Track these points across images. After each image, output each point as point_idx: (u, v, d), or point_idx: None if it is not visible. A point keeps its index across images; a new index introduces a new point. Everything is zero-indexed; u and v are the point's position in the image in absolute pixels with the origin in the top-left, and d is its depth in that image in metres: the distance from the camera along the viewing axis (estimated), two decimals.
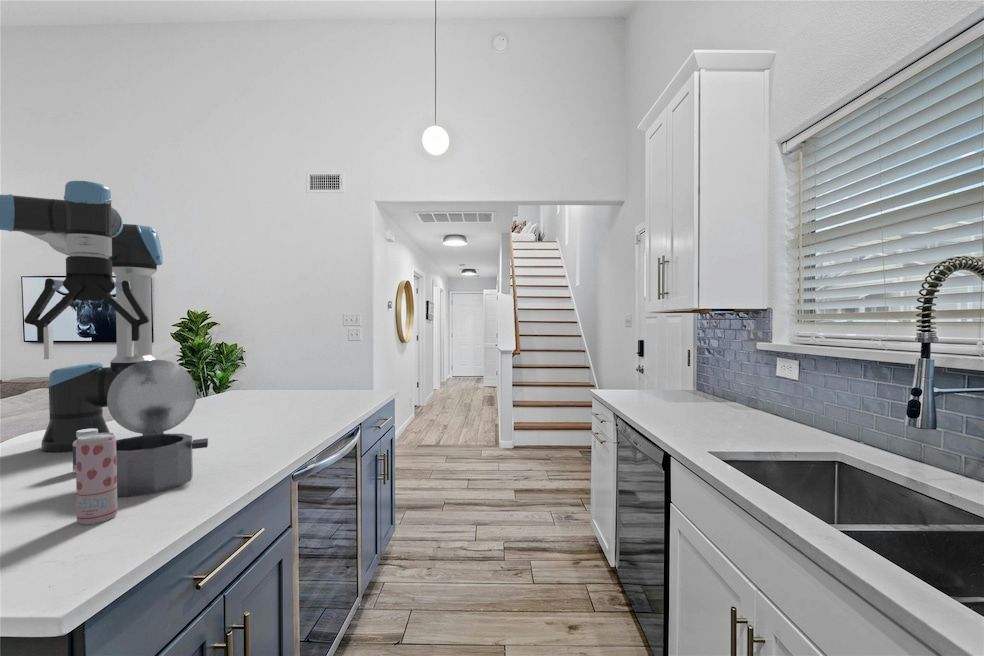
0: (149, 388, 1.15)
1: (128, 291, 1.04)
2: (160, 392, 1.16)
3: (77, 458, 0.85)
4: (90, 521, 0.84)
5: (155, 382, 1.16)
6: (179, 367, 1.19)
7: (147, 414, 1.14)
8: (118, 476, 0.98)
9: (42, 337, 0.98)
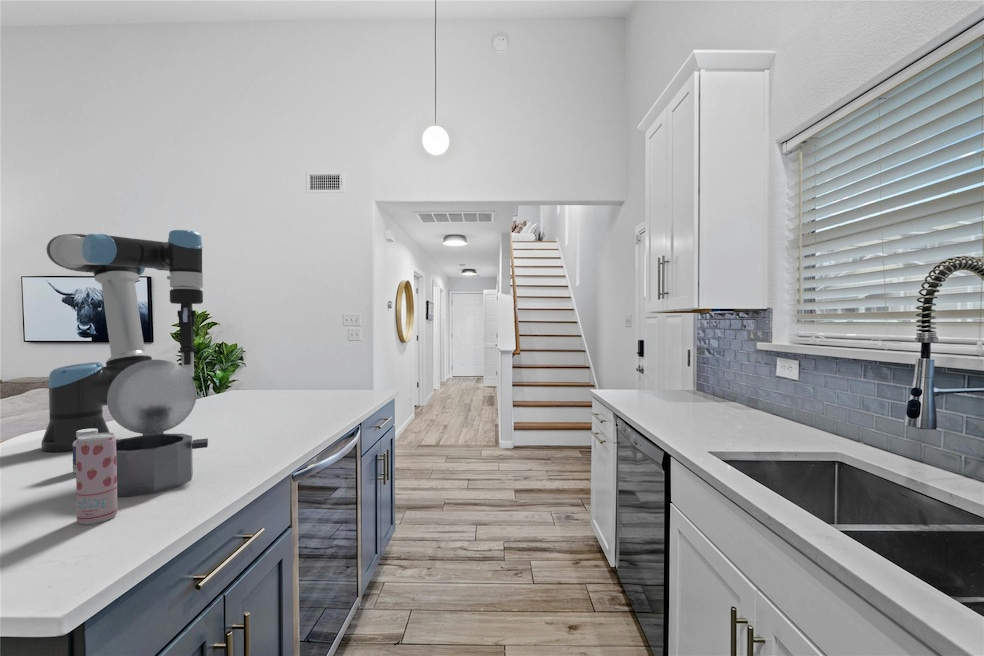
0: (149, 388, 1.15)
1: (180, 323, 1.25)
2: (160, 392, 1.16)
3: (77, 458, 0.85)
4: (90, 521, 0.84)
5: (155, 382, 1.16)
6: (179, 367, 1.19)
7: (147, 414, 1.14)
8: (118, 476, 0.98)
9: None
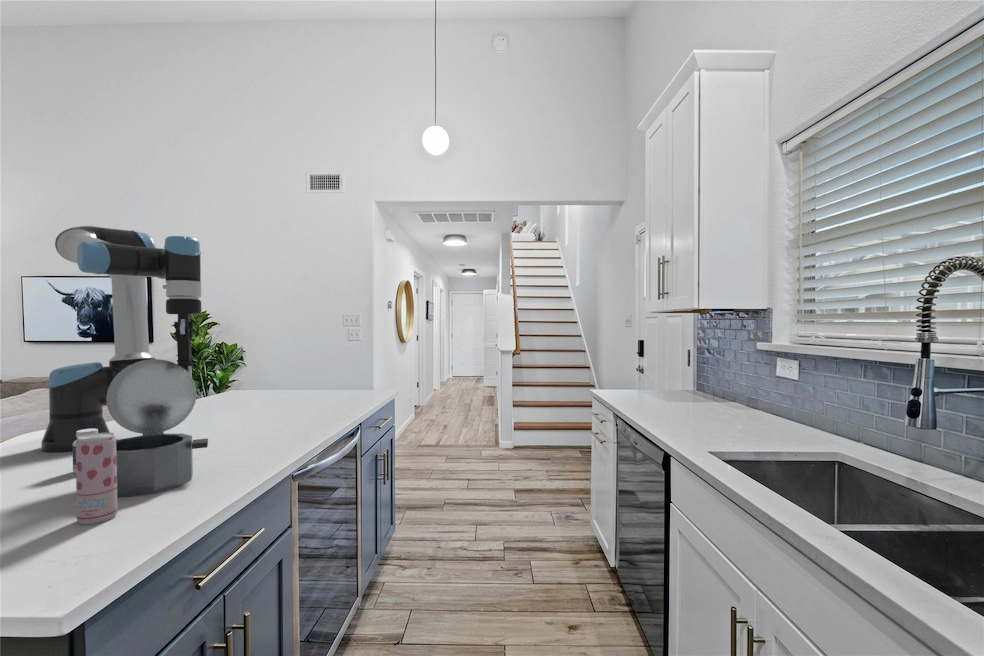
0: (149, 388, 1.15)
1: (176, 335, 1.17)
2: (160, 392, 1.15)
3: (77, 458, 0.85)
4: (90, 521, 0.84)
5: (154, 382, 1.15)
6: (179, 367, 1.18)
7: (147, 414, 1.14)
8: (118, 476, 0.98)
9: None
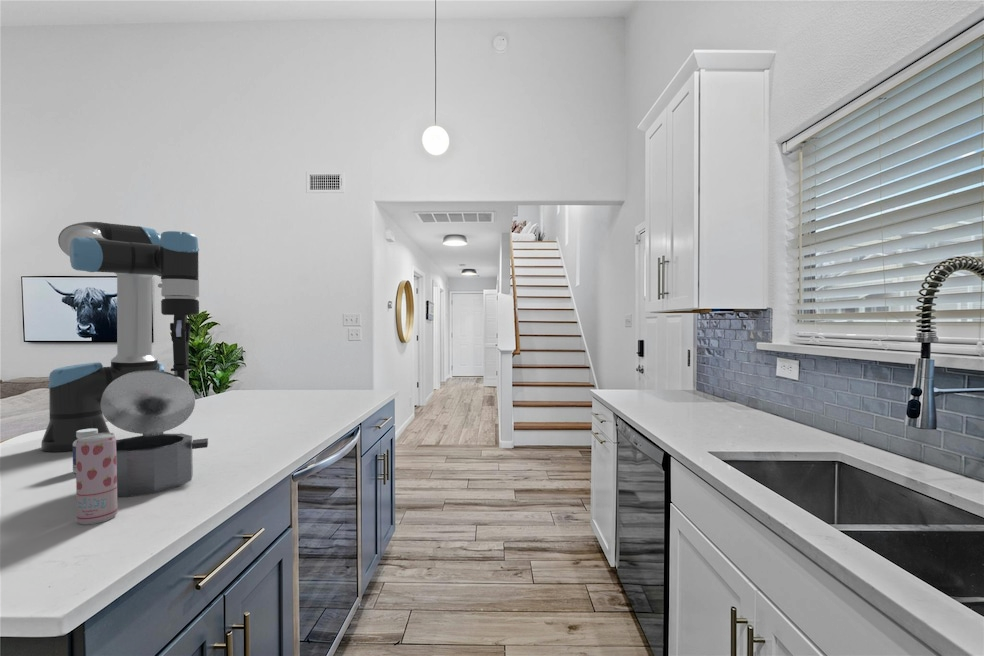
0: (144, 398, 1.09)
1: (172, 338, 1.09)
2: (156, 400, 1.10)
3: (77, 458, 0.85)
4: (90, 521, 0.84)
5: (150, 392, 1.09)
6: (175, 379, 1.09)
7: (145, 418, 1.11)
8: (118, 476, 0.98)
9: None
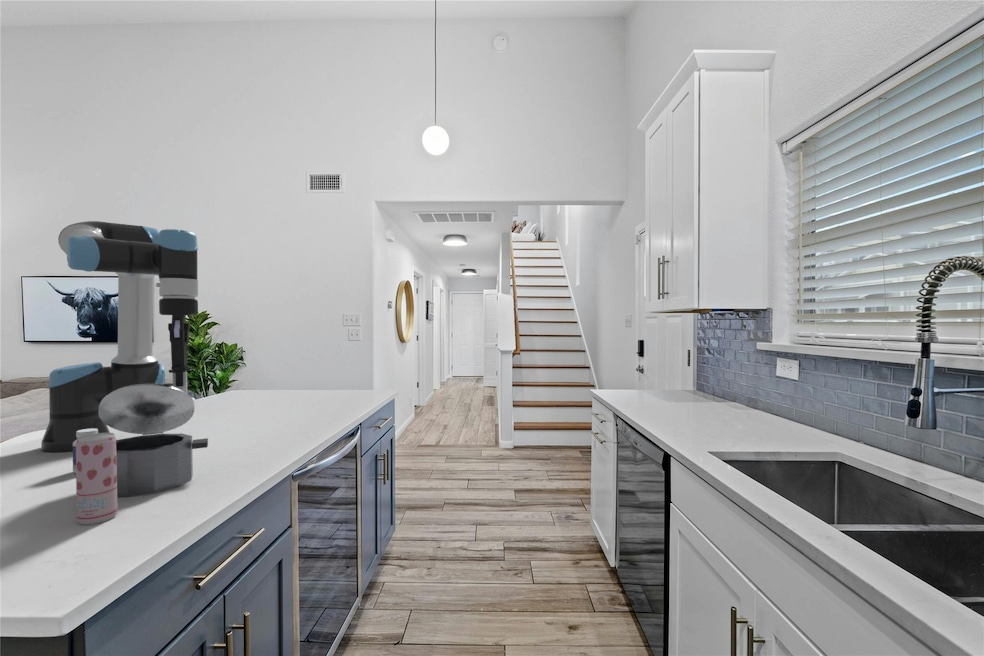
0: (143, 407, 1.07)
1: (170, 338, 1.06)
2: (155, 408, 1.09)
3: (77, 458, 0.85)
4: (90, 521, 0.84)
5: (148, 402, 1.06)
6: (173, 391, 1.07)
7: (144, 422, 1.10)
8: (118, 476, 0.98)
9: None
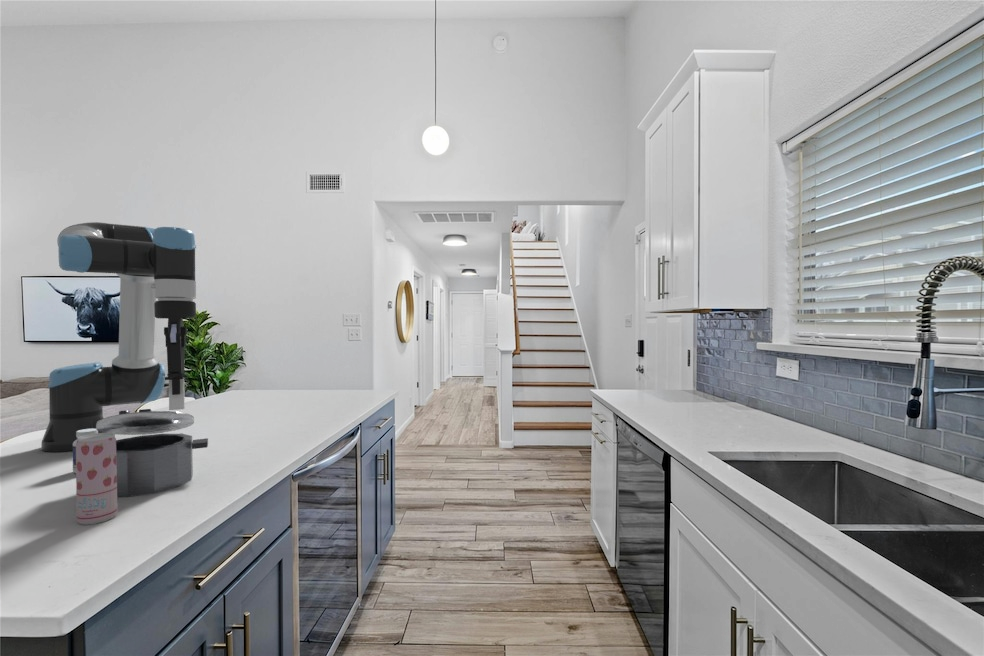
0: (141, 424, 1.05)
1: (166, 343, 0.99)
2: (154, 424, 1.07)
3: (77, 458, 0.85)
4: (90, 521, 0.84)
5: (147, 422, 1.04)
6: (172, 416, 1.04)
7: (144, 430, 1.10)
8: (118, 476, 0.98)
9: None
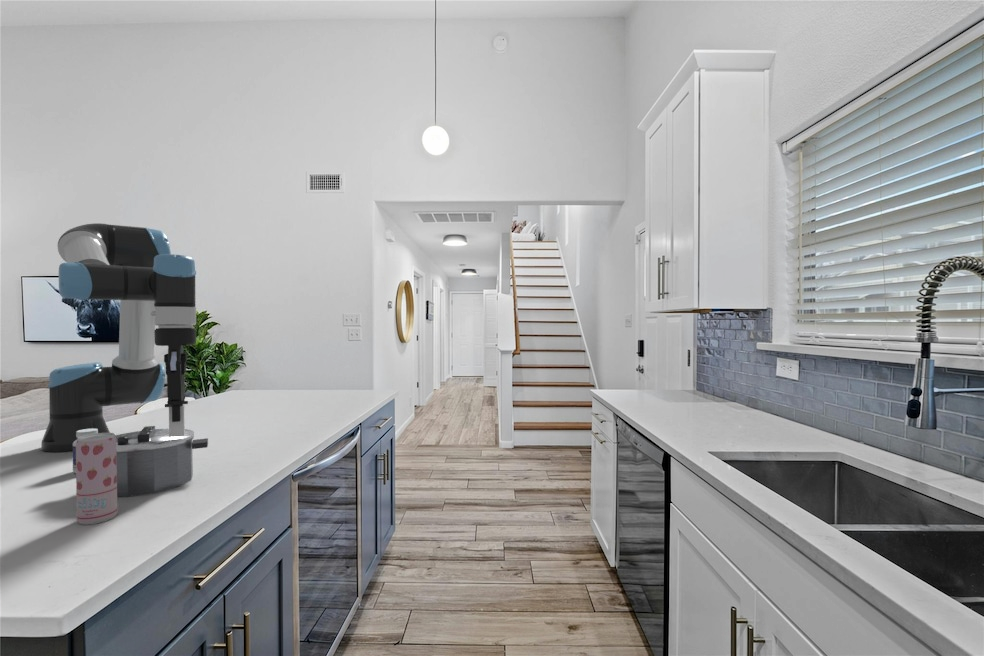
0: None
1: (166, 372, 0.99)
2: None
3: (77, 458, 0.85)
4: (90, 521, 0.84)
5: None
6: (172, 445, 1.03)
7: None
8: (118, 476, 0.98)
9: None
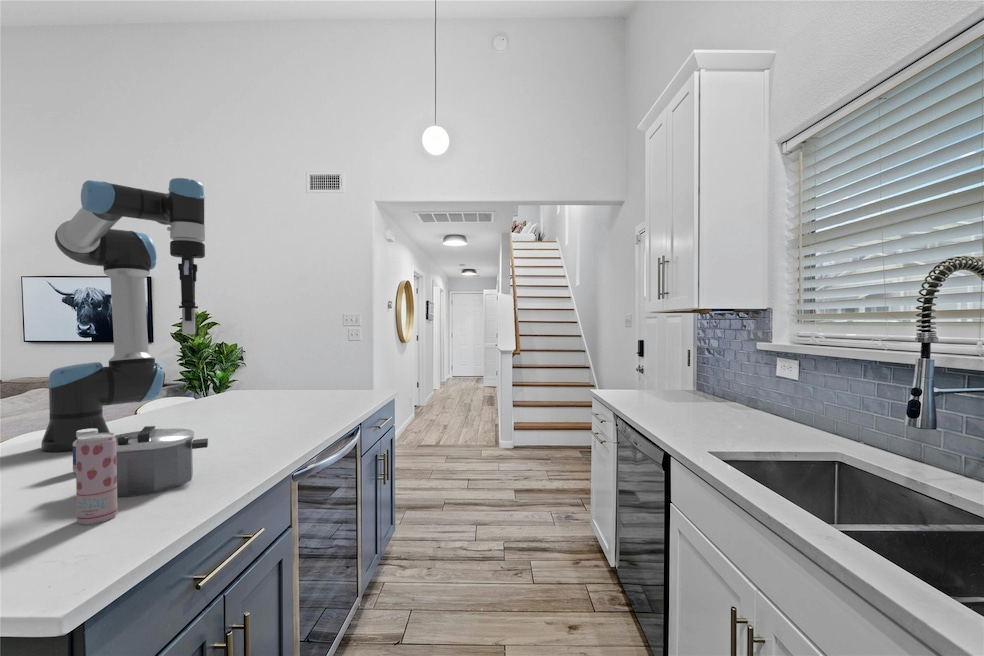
0: None
1: (180, 275, 1.18)
2: None
3: (77, 458, 0.85)
4: (90, 521, 0.84)
5: None
6: (172, 445, 1.03)
7: None
8: (118, 476, 0.98)
9: None
